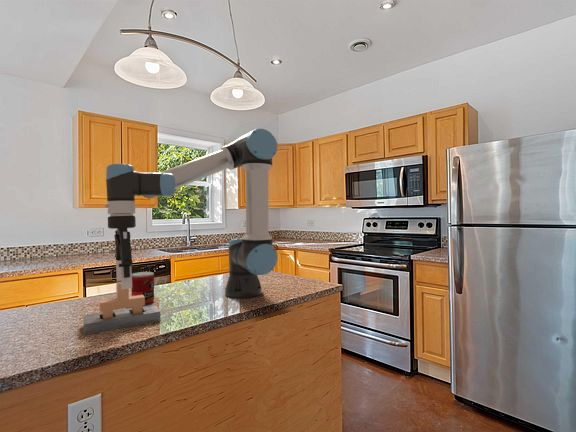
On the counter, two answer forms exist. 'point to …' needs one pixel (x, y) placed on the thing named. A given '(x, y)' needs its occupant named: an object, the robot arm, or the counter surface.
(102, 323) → the grey slotted base
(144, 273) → the canned food
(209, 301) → the counter surface
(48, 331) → the counter surface
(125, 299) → the clip
